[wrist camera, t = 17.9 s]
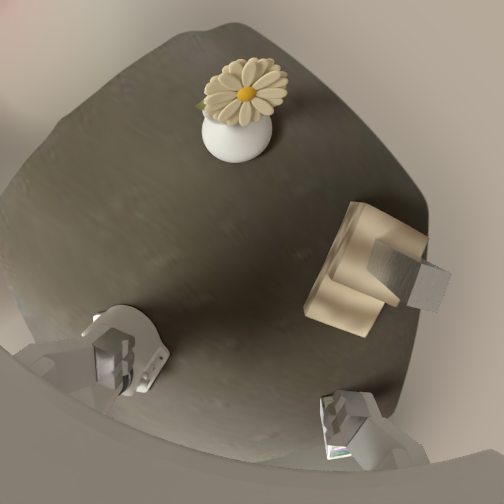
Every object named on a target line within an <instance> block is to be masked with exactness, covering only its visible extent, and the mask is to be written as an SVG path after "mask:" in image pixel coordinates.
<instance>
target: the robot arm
mask: <svg viewBox="0 0 504 504" xmlns="http://www.w3.org/2000/svg"><path fill="white" fill-rule="evenodd" d="M169 356H170V352H169V351H168V349H167V348H166V347H165V345H164V344H163V343H162V341H161V339H160V337H159V334H158V332H157V330H156V328H155V326H154V325H153V323H152V322H151V321H150V319H149V318H148V317H147V316H146V315H144V314H143V313H142V312H140V311H139V310H137V309H135V308H133V307H130V306H127V305H116V306H113V307H111V308H110V309H108V310H107V311H106V312H102V313H97V314H95V315H94V317H93V323H92V324H91V325H90V326H89V327H88V328H87V329H86V330H85V331H84V332H83V333H82V338H81V339H79V338H73V339H66V340H59V341H51V342H43V343H35V344H29V345H28V346H26V347H25V348H23V349H22V350H20V351H19V352H18V353H16V354H15V355H13V356H12V355H11V354H10V353H9V352H7V351H6V350H5V349H4V348H3V347H2V346H0V504H504V456H503V455H502V454H500V453H498V452H497V451H494V450H492V449H489V450H484V451H481V452H477V453H474V454H471V455H467V456H463V457H459V458H455V459H451V460H447V461H442V462H437V463H432V464H430V461H429V459H428V457H427V455H426V453H425V450H424V448H423V446H422V445H420V444H419V443H418V442H416V441H415V440H413V439H412V438H411V437H410V436H408V435H407V434H406V433H404V432H403V431H402V430H400V429H399V428H398V427H396V426H395V425H394V424H393V423H391V422H390V421H389V420H387V419H386V418H382V416H381V413H380V411H379V409H378V406H377V404H376V402H375V399H374V397H373V395H372V394H371V393H368V392H352V391H343V390H337V391H336V392H335V393H334V395H333V397H332V398H333V402H332V403H330V404H328V406H327V407H326V409H325V412H324V416H323V424H324V426H325V427H326V429H327V431H326V433H325V437H326V443H327V445H330V446H342V447H346V449H347V450H348V451H349V452H350V453H351V455H352V456H353V457H354V458H355V459H356V460H357V462H358V463H359V464H360V465H361V467H362V468H363V469H364V470H365V471H316V470H315V471H314V470H302V469H291V468H283V467H274V466H268V465H261V464H255V463H250V462H245V461H240V460H235V459H230V458H226V457H221V456H217V455H213V454H209V453H206V452H202V451H198V450H195V449H191V448H188V447H185V446H182V445H179V444H176V443H173V442H170V441H167V440H164V439H161V438H158V437H156V436H153V435H150V434H148V433H145V432H143V431H140V430H138V429H136V428H133V427H131V426H129V425H126V424H124V423H122V422H120V421H118V420H115V419H113V418H111V417H109V416H107V415H105V414H106V413H107V411H108V409H109V408H110V406H111V405H112V403H113V402H114V400H115V399H116V397H117V396H119V395H121V394H123V395H127V396H131V395H133V394H134V393H135V392H136V391H137V392H147V391H148V390H149V388H150V387H151V385H152V383H153V382H154V380H155V379H156V377H157V375H158V374H159V372H160V371H161V369H162V367H163V366H164V364H165V363H166V361H167V359H168V358H169ZM161 357H163V358H161Z"/></svg>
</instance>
